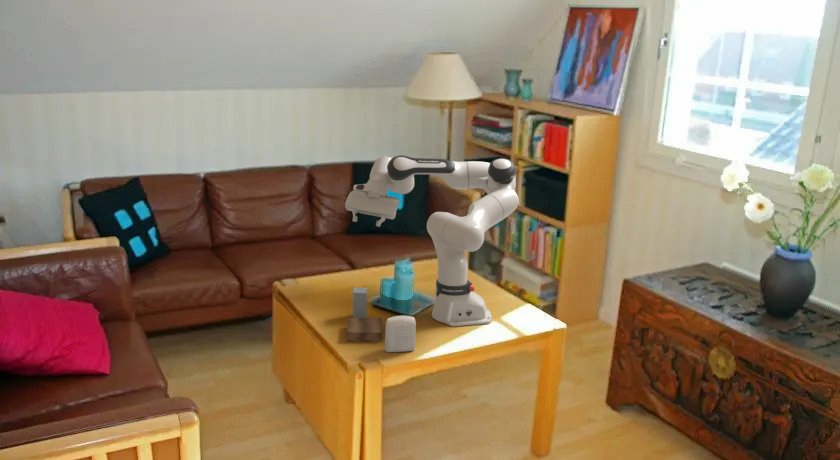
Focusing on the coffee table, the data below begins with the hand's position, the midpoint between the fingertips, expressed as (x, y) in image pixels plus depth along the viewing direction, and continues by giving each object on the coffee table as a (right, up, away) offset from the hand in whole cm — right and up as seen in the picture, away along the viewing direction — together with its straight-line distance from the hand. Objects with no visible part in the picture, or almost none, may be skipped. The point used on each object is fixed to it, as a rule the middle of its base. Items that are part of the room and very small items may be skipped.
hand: (366, 223), depth 281 cm
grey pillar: (-1, -35, -12) cm, 37 cm away
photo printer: (+14, -43, -35) cm, 58 cm away
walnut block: (+1, -40, -25) cm, 47 cm away
